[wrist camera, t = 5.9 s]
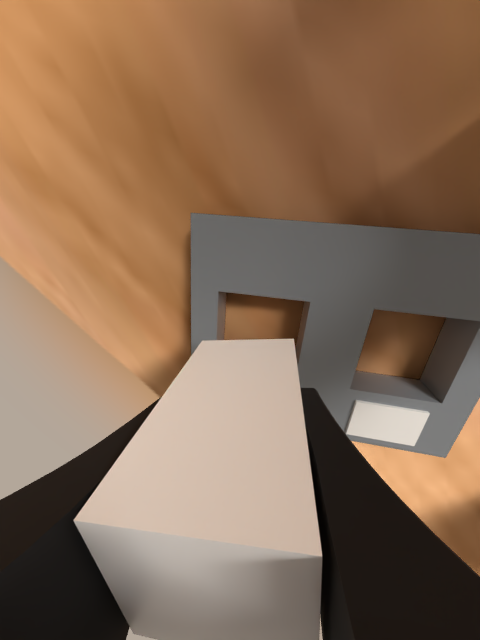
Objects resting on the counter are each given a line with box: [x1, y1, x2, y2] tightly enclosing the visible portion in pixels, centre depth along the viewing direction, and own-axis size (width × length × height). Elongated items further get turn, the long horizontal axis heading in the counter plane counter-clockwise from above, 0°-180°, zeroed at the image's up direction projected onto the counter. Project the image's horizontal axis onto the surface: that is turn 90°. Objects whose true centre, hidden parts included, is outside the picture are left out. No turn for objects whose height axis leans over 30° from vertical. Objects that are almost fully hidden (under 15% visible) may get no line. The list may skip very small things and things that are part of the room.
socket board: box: [191, 213, 480, 458], centre depth 15 cm, size 18×14×3 cm
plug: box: [73, 339, 322, 640], centre depth 7 cm, size 4×4×7 cm
